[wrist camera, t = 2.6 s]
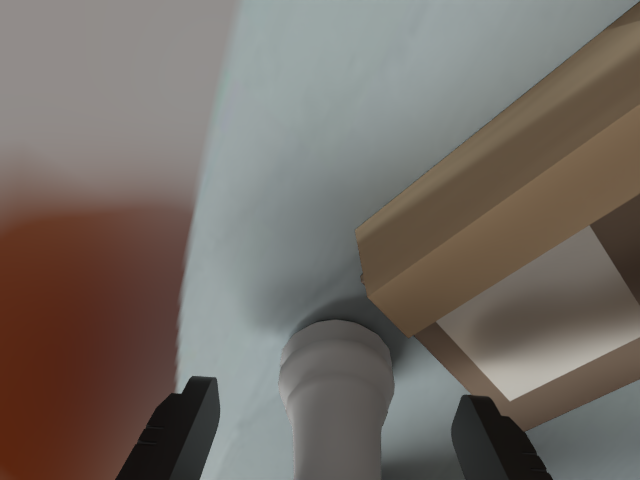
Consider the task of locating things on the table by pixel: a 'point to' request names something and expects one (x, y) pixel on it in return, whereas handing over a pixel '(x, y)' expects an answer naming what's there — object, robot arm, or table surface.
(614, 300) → the wooden tray
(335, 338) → the rook chess piece
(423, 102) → the table surface
